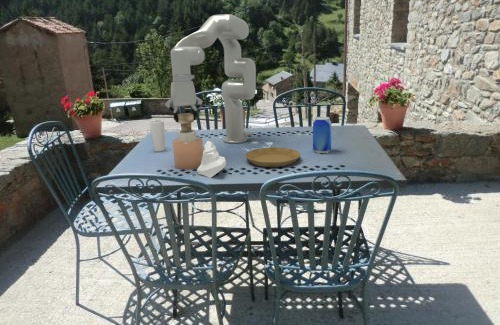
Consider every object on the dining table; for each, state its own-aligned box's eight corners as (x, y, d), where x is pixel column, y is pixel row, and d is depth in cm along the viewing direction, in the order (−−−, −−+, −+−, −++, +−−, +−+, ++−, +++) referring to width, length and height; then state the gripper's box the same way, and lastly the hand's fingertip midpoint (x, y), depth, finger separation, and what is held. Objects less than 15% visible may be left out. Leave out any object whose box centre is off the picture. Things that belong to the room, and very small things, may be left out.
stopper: (192, 127, 187) (191, 112, 186) (196, 130, 181) (195, 115, 179) (176, 129, 185) (175, 114, 183) (180, 132, 179) (178, 117, 177)
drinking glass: (163, 152, 208) (160, 122, 204) (150, 152, 210) (147, 122, 205) (168, 148, 215) (165, 119, 210) (156, 148, 216) (153, 119, 212)
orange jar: (199, 158, 196) (197, 126, 191) (207, 166, 184) (205, 132, 180) (171, 162, 192) (168, 130, 187) (177, 170, 180) (174, 136, 175)
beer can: (332, 149, 201) (333, 116, 196) (328, 154, 194) (328, 120, 189) (315, 148, 205) (315, 115, 200) (310, 153, 197) (310, 119, 193)
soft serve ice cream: (194, 182, 170) (184, 148, 168) (206, 173, 184) (196, 141, 182) (223, 175, 167) (213, 140, 165) (232, 166, 181) (223, 134, 179)
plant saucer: (286, 151, 204) (285, 144, 203) (309, 164, 182) (309, 157, 181) (238, 157, 196) (238, 150, 195) (257, 172, 174) (257, 165, 173)
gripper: (200, 76, 183) (203, 117, 188) (159, 79, 177) (163, 121, 183) (204, 77, 176) (207, 120, 182) (162, 81, 171) (166, 124, 176)
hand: (185, 120), depth 182 cm, fingers closed on stopper, 7 cm apart
